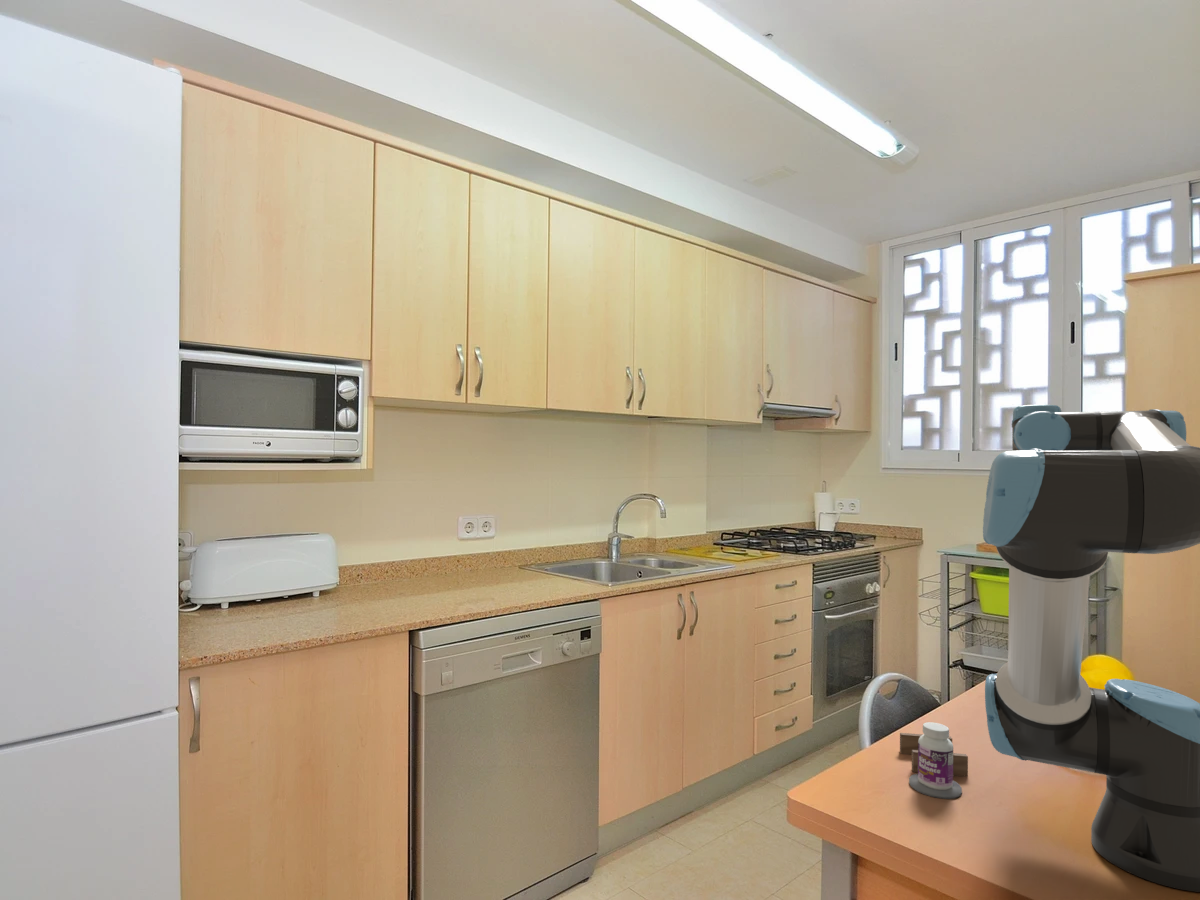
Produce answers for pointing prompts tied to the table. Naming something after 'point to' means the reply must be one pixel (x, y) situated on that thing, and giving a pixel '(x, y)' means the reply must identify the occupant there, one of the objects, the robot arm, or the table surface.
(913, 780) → the coaster
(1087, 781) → the table surface
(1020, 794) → the table surface
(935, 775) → the pill bottle
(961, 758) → the rail cradle
